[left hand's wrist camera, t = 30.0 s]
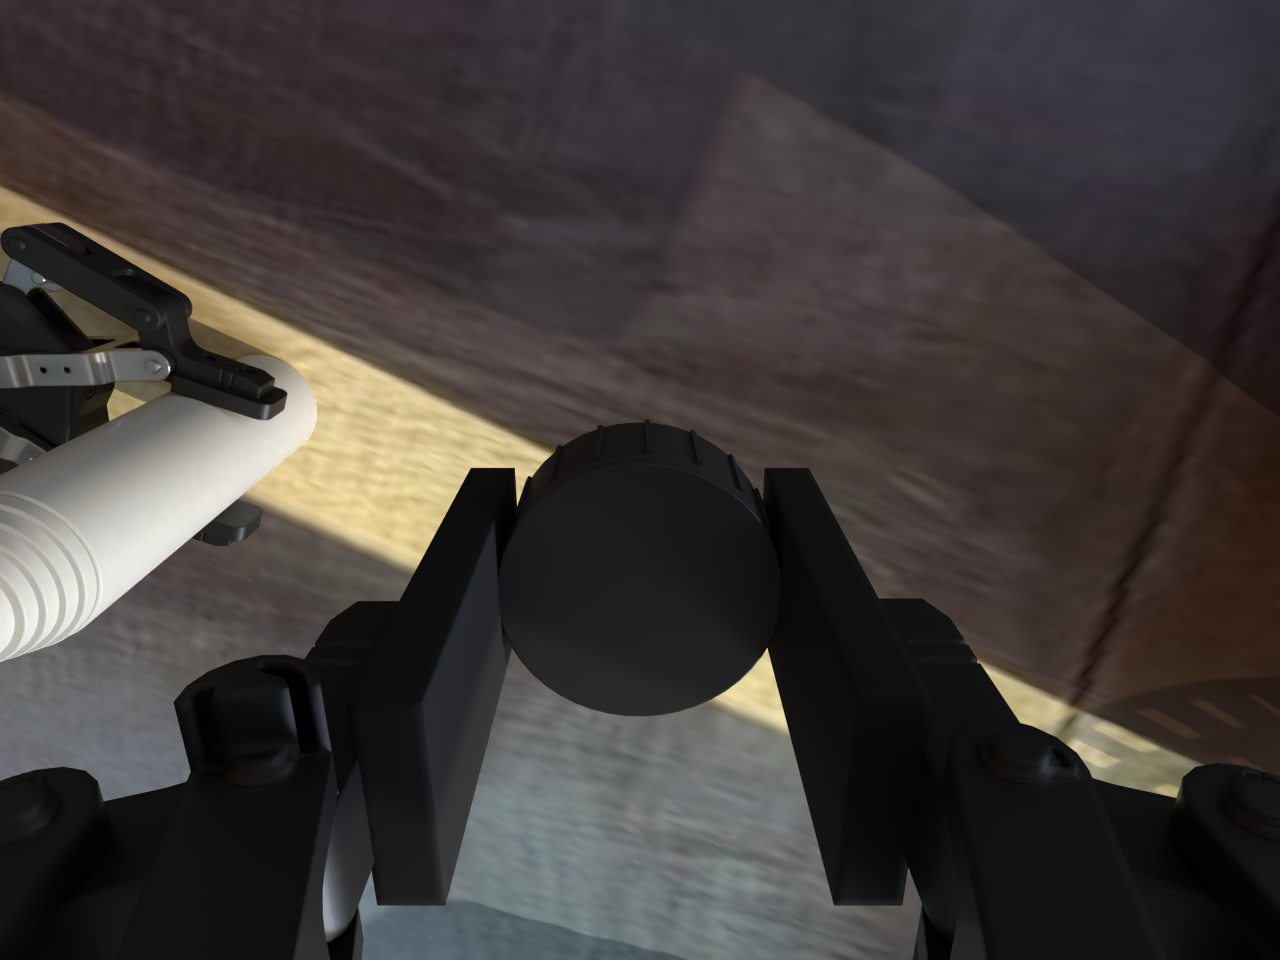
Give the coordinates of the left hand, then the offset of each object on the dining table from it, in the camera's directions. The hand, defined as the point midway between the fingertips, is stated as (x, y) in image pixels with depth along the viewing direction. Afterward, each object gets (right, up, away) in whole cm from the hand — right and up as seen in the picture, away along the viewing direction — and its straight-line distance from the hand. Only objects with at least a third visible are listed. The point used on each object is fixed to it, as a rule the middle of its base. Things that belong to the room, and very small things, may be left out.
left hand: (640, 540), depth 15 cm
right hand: (-16, +2, +20) cm, 25 cm away
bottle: (-18, +5, +25) cm, 31 cm away
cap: (0, -1, -2) cm, 2 cm away
